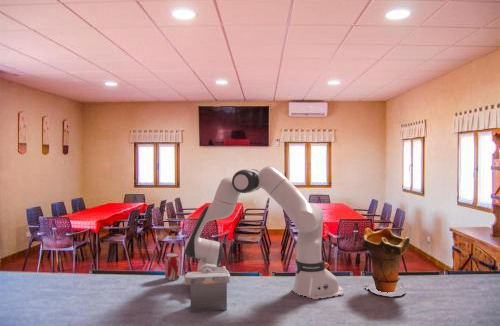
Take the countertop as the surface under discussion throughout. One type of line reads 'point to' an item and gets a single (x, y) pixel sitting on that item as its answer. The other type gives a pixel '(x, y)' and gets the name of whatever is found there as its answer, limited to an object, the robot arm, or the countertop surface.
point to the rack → (208, 295)
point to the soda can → (172, 266)
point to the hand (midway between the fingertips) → (207, 284)
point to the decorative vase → (385, 256)
